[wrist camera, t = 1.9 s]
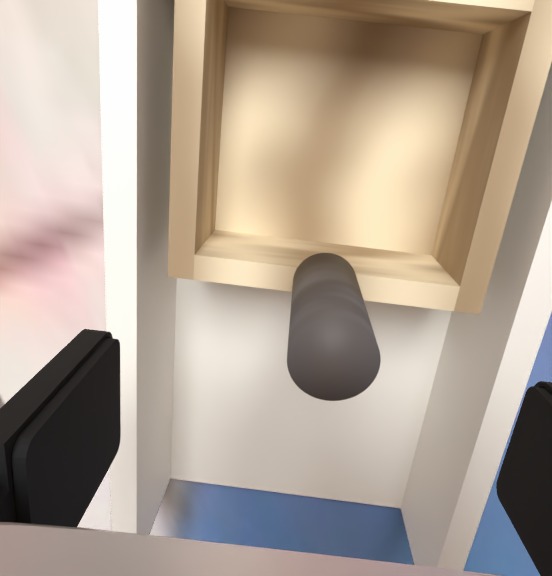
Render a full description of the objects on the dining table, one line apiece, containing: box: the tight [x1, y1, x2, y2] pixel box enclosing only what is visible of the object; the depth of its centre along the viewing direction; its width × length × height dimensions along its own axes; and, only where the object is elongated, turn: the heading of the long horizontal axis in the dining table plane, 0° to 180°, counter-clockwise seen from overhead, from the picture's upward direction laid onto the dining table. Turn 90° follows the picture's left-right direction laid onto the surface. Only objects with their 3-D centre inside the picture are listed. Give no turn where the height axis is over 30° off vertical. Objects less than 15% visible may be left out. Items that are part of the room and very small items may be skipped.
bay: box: [98, 0, 552, 571], centre depth 21 cm, size 16×28×7 cm, turn 174°
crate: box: [168, 0, 552, 401], centre depth 16 cm, size 12×12×11 cm
